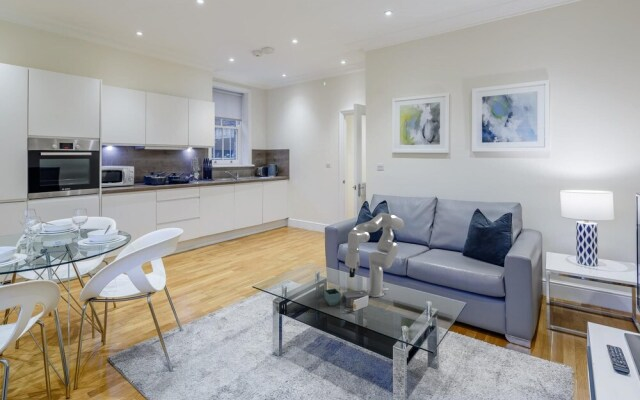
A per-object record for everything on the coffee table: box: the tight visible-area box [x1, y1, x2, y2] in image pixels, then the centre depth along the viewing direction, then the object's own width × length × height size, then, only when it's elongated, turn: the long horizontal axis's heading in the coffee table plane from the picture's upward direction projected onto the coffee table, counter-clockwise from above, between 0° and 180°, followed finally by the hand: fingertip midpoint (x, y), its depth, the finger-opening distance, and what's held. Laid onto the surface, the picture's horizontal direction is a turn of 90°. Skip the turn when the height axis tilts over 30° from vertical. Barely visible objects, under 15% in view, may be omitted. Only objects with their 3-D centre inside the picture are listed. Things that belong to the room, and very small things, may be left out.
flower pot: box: [323, 288, 341, 307], centre depth 239 cm, size 9×9×9 cm
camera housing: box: [341, 289, 370, 308], centre depth 240 cm, size 17×9×8 cm, turn 104°
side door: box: [352, 296, 370, 312], centre depth 233 cm, size 14×2×7 cm, turn 129°
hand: (351, 276), depth 234 cm, fingers closed
